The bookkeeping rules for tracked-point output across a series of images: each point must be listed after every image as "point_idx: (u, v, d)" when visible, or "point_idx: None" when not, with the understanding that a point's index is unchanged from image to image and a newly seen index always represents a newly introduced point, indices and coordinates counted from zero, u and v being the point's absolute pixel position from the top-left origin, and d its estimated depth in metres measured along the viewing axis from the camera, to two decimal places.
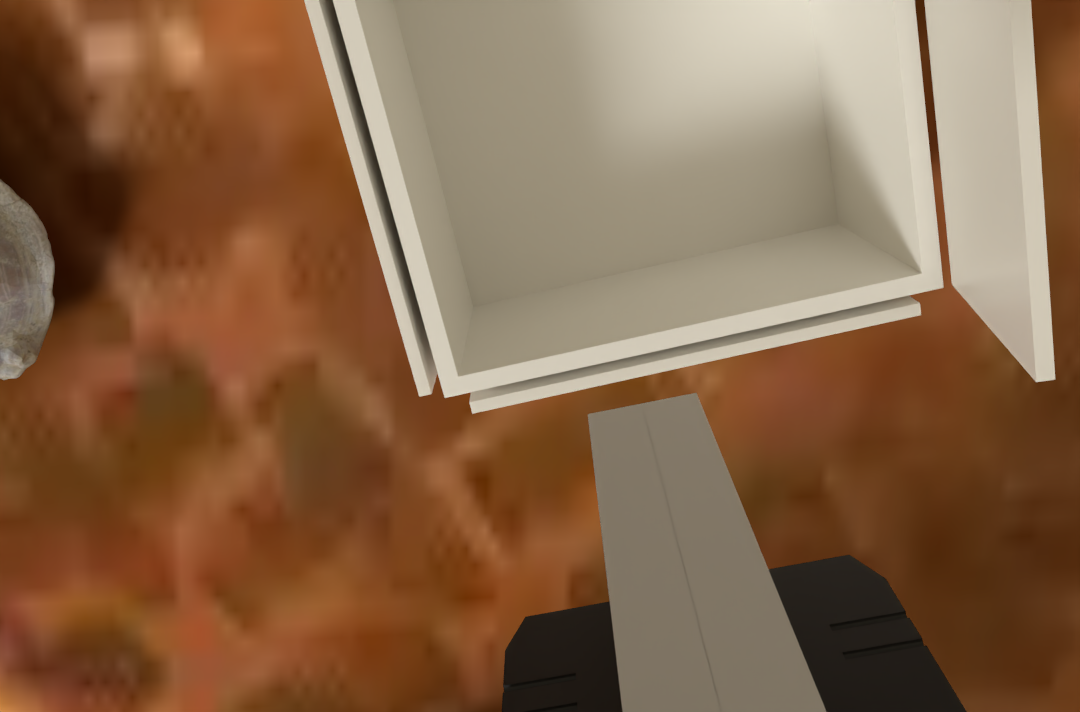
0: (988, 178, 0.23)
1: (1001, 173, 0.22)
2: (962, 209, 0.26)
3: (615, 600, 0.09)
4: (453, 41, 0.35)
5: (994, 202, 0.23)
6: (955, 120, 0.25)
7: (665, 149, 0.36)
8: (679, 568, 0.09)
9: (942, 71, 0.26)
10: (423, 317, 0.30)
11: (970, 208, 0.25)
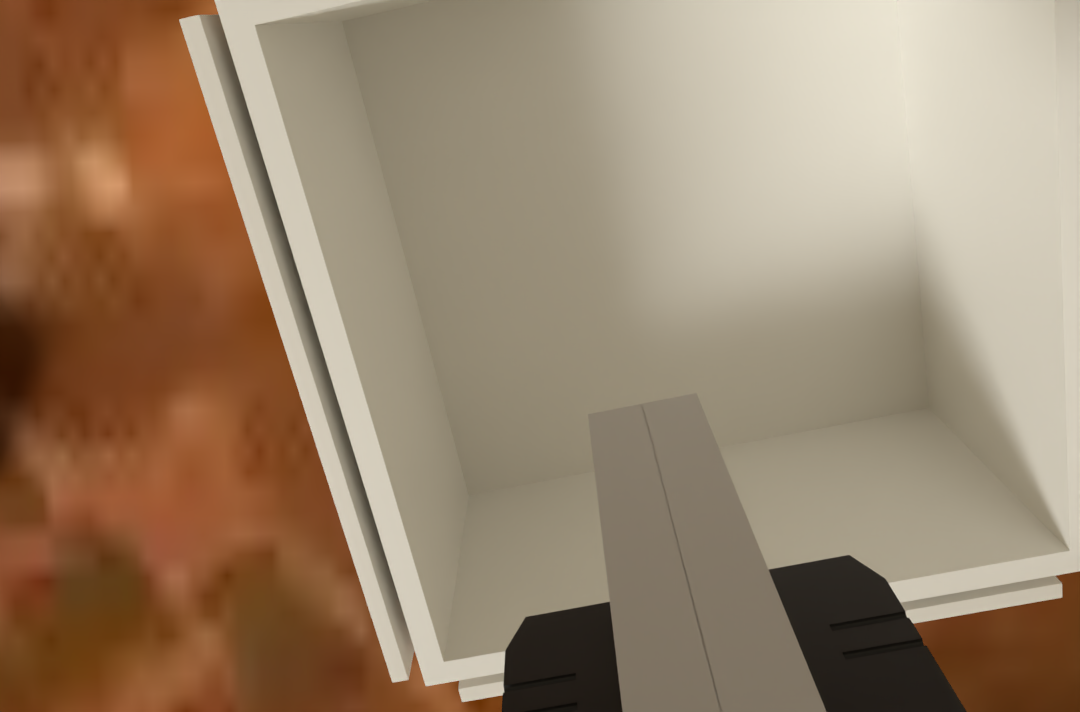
0: None
1: None
2: None
3: (615, 600, 0.09)
4: (447, 181, 0.27)
5: None
6: None
7: (714, 316, 0.29)
8: (679, 568, 0.09)
9: None
10: (398, 591, 0.22)
11: None
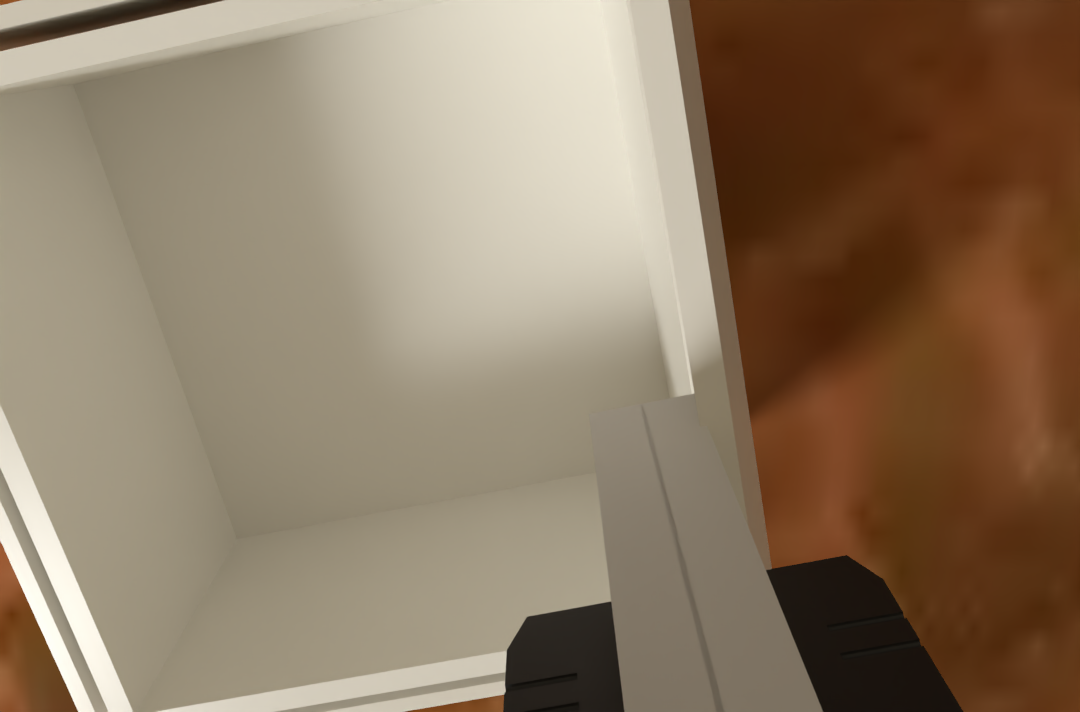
0: None
1: None
2: None
3: (617, 600, 0.09)
4: (189, 237, 0.28)
5: None
6: None
7: (462, 368, 0.29)
8: (677, 569, 0.09)
9: None
10: (81, 647, 0.23)
11: None
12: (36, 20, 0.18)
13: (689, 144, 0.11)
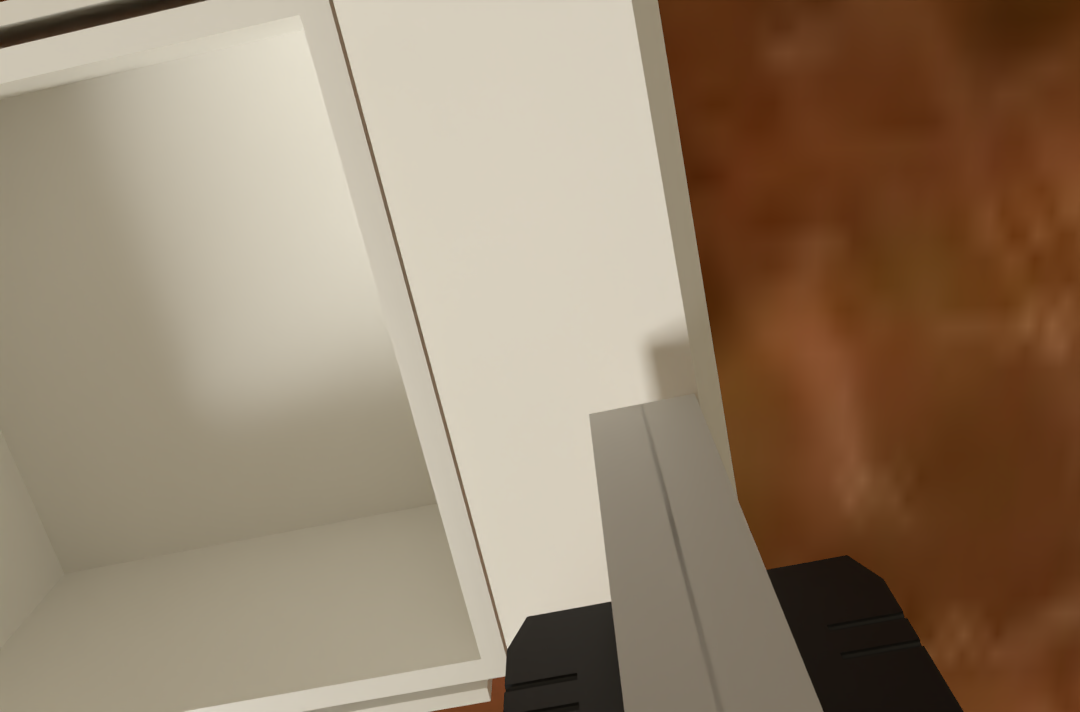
0: None
1: None
2: None
3: (617, 600, 0.09)
4: None
5: None
6: (525, 518, 0.19)
7: (274, 406, 0.30)
8: (677, 568, 0.09)
9: (485, 451, 0.19)
10: None
11: None
12: None
13: (674, 125, 0.12)
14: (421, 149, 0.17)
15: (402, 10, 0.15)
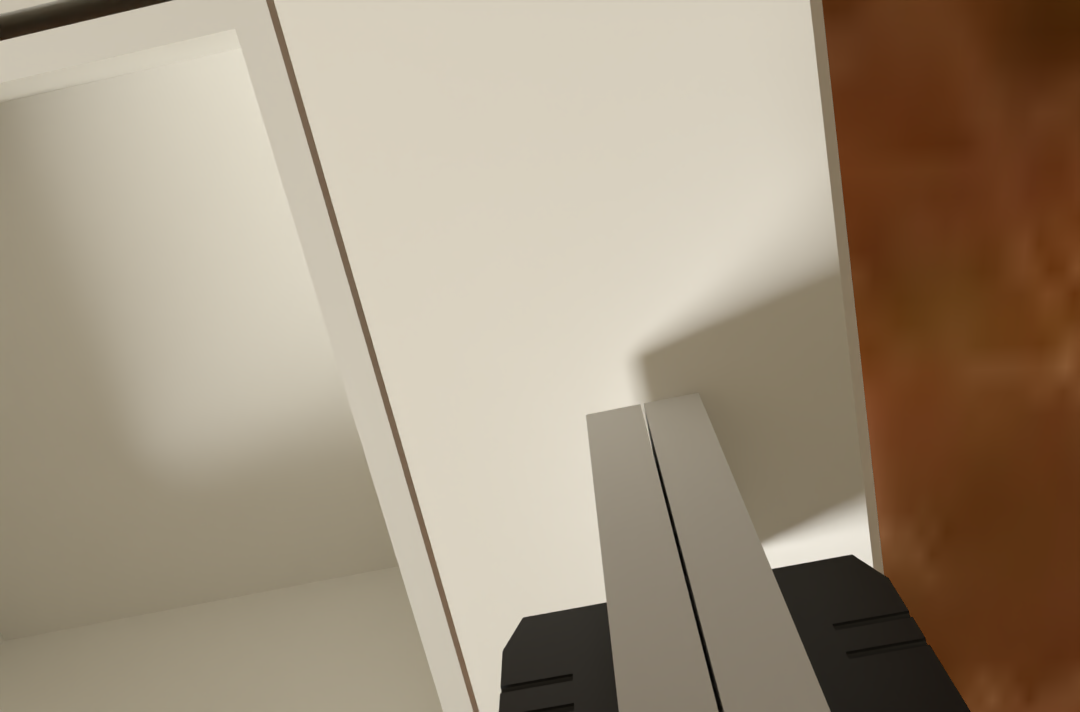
0: None
1: None
2: None
3: (612, 601, 0.09)
4: None
5: None
6: (545, 593, 0.16)
7: (233, 458, 0.27)
8: (682, 568, 0.09)
9: (485, 526, 0.16)
10: None
11: None
12: None
13: None
14: (418, 178, 0.14)
15: (407, 13, 0.13)
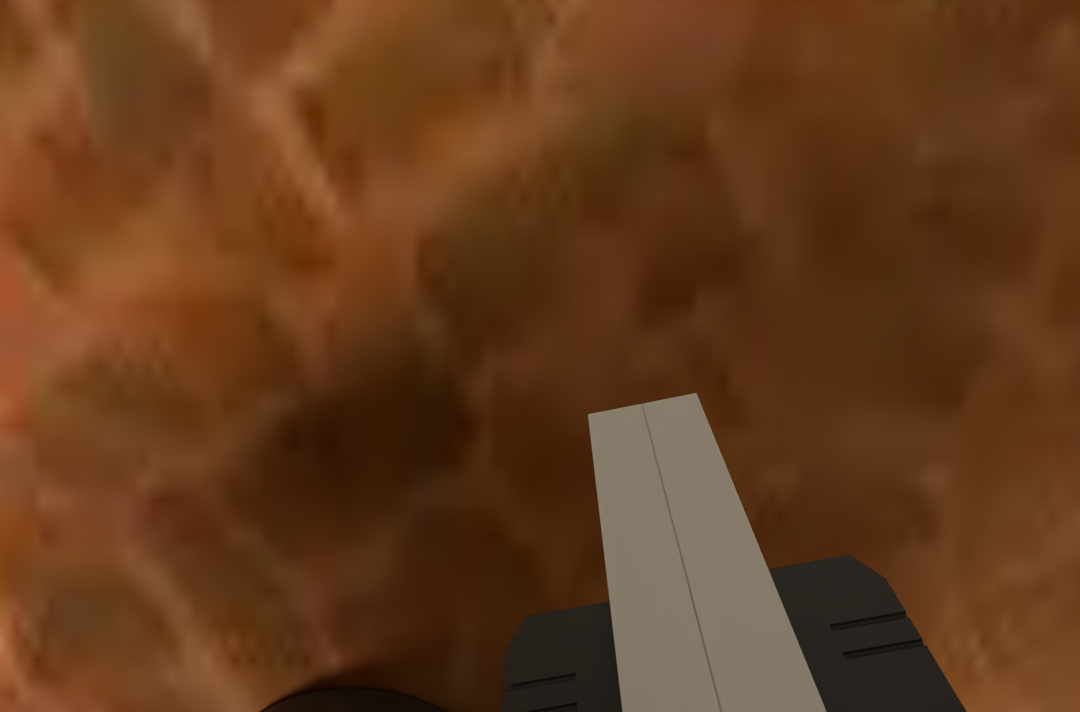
0: None
1: None
2: None
3: (615, 600, 0.09)
4: None
5: None
6: None
7: None
8: (680, 568, 0.09)
9: None
10: None
11: None
12: None
13: None
14: None
15: None
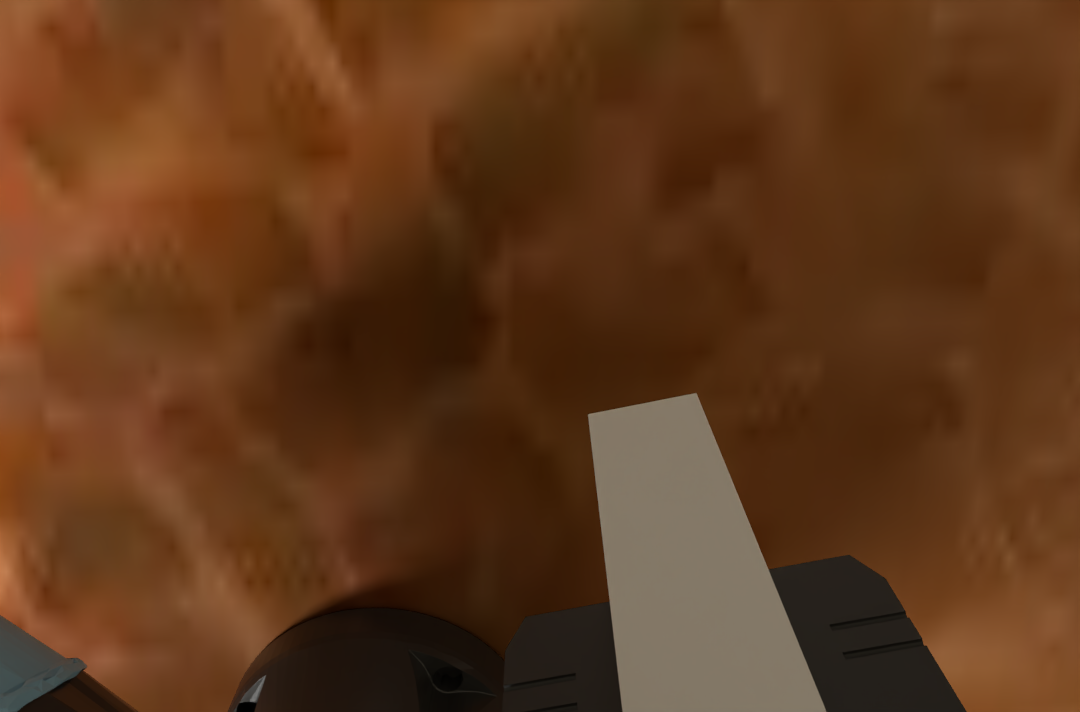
0: None
1: None
2: None
3: (616, 600, 0.09)
4: None
5: None
6: None
7: None
8: (679, 568, 0.09)
9: None
10: None
11: None
12: None
13: None
14: None
15: None
